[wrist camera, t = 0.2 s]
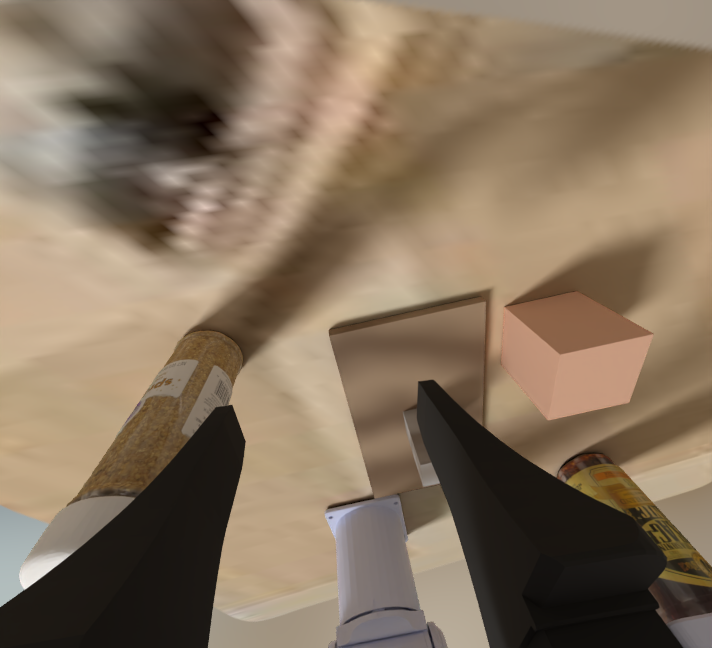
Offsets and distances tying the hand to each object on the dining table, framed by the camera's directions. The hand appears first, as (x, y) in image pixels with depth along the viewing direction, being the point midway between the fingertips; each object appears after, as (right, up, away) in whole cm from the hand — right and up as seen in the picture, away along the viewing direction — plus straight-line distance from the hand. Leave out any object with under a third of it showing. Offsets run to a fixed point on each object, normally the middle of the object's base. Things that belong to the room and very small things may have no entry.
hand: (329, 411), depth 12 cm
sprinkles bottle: (-9, +1, +10) cm, 14 cm away
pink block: (+15, +3, +12) cm, 19 cm away
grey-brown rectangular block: (+6, -4, +15) cm, 17 cm away
